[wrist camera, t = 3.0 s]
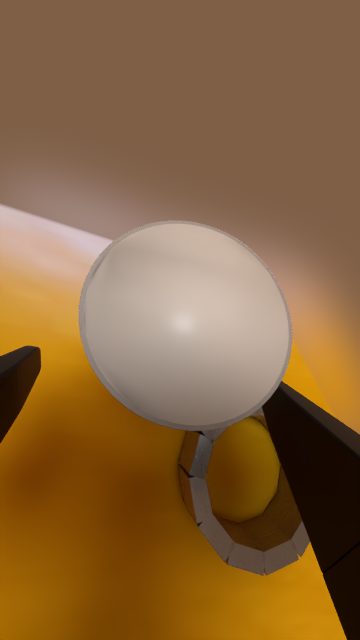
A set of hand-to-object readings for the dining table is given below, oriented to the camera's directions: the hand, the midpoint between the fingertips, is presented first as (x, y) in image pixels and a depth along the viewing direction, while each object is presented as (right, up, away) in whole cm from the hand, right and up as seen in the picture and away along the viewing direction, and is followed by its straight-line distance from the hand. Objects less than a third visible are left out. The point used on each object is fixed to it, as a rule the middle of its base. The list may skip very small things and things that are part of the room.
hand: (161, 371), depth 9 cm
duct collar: (+5, -9, +8) cm, 13 cm away
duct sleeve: (-2, -2, +8) cm, 9 cm away
